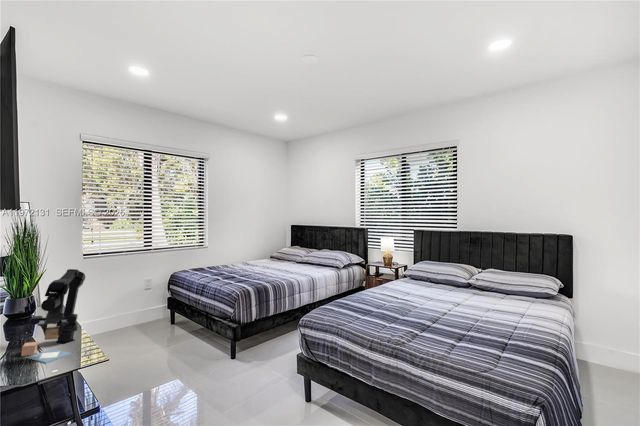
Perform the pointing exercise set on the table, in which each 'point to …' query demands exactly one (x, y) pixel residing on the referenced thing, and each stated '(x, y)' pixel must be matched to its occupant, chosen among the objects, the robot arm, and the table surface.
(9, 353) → the table surface
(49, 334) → the walnut block
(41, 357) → the board
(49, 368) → the table surface
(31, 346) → the terracotta block
